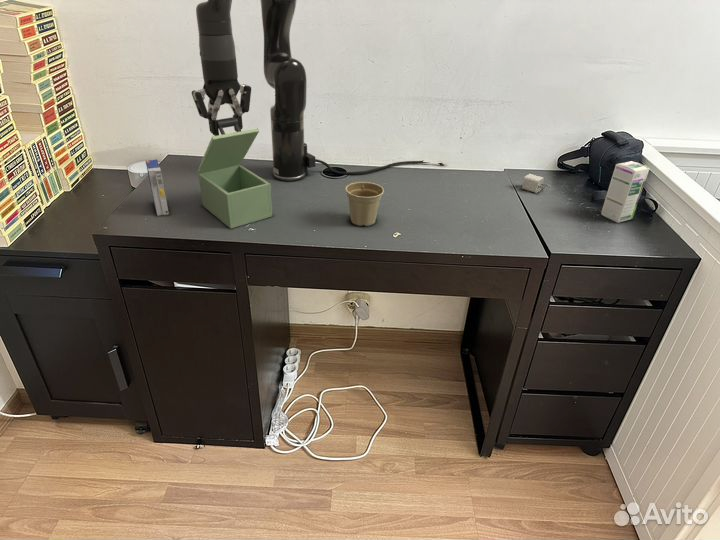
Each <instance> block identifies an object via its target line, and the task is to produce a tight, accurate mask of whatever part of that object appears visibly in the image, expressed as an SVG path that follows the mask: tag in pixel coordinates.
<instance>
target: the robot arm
mask: <svg viewBox="0 0 720 540" xmlns="http://www.w3.org/2000/svg"><path fill="white" fill-rule="evenodd" d="M232 5H233V0H207V1H202V2H200V3H198V4H197V5H196V7H195V15H196V23H197V31H198V49H199V57H200V63H201V70H202V71H201V72H202V79H203V82H204V83H203V86H202V88H201V89H198V90H192V91H191V96H192V99H193V101H194V104H195V106H196V111H197V113H198V115H199V117H201V118H203V119H205V120H207V121H208V126H209V127H208V128H209V132H210V133H211V134H212V136H218V135H220V130H219V129H218V121H217V120H218V119H217V117H218V113H219V111H220V109H221V106H223V105H225V104H227V105H229V107H230V109H231V111H232V113H233V114H232V117H237V119H238V126H239V128H240V130H241V131H242V130H243V127H244V126H243V115H244V114H245V113H249V112H250V105H251V95H252V87H251V86H250V85H249V84H245V83H244V84H240V82H239V80H238V77H239V75H238V63H237V55H236V45H235V41H234V36H233V25H232V15H231V11H232ZM296 8H297V0H260V10H261V11H260V12H261V23H262V31H263V75H264V79H265V81H266V83H267V84H268V85H269V86H270V87H271V88H272V89H274V104H272V105H271V107H270V109H269V110H270V111H269V114H270V116H269V117H270V133H271V149H272V172H273V173H272V175H273V177H274V178H275V179H277V180H279V181H284V182H293V181H298V180H301V179H304V178H305V176H308V175H309V171H308V169H312V168H315V167H316V163H319V164H322V165H323V166H325V167H326V168H327V169H328V170H329V171H330V172H332V173H335V174H337V175H345V176H349V175H350V176H352V175H365V174H369V173H373V172H378V171H381V170H385V169H388V168H391V167H394V166H399V165H408V164H412V165H413V164H428V163H429V162H423V161H424V160H405V161H397V162H392V163H389V164H386V165H383V166H380V167H375V168H371V169H367V170H360V171H339V170H336V169H333V168H332V167H331V166H330V165H329V164H328V163H327V162H325V161H323V160H321V159H316V155H313V154H311V153H309V152H308V144H307V143H306V142H305V122H304V121H305V119H304V118H305V115H304V113H305V110H306V106H307V89H308V87H307V85H308V83H307V73H306V68H305V66H304V65H303V63H302V62H301V61H300V60H298V59H296V58H294V57H292V50H291V27H292V23H293V19H294V16H295V12H296ZM239 93H240V98H239V99H240V101H239V100H238V98H237V95H238V94H239ZM205 96H207V97H208V102H207V107H206V103H205V101H204V100H205V99H206V97H205ZM233 130H234V132H237V130H236V128H235V126H233ZM437 164H438V165H440V167H445V164H444V163H443V162H441V163H437Z"/></svg>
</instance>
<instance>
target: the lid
mask: <svg viewBox="0 0 720 540" xmlns="http://www.w3.org/2000/svg"><path fill="white" fill-rule="evenodd" d="M216 120H217V121H218V129H219V135H218V136H214V135H212V136H211V139H210V140H209V143H208V146H207V147H206V150H205V152H204V155H203V156H202V159H201V161H200V164H199V166H198V169H197V174H200V173H205V172H209V171H214V170H219V169H223V168H228V167H232V166H238V165H242V162H243V161H244V159H245V157H246V156H247V153H248V152H249V150H250V149H251V147H252V145H253V143H254V141H255V139H256V138H257V136H258V134H259V133H260V129H259V128H253V129H252V128H251V129H247V130H242V129H241V130H240V128H239V126H238V119H237V117H233V116H231V117H226V118H220V119H216ZM234 126H235V128H236V130H237V132H236V131H234V132H229V133H226V132H225V130H224V129H225V128H226V129H227V128H231V127H234Z"/></svg>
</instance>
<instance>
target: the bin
mask: <svg viewBox="0 0 720 540" xmlns="http://www.w3.org/2000/svg"><path fill="white" fill-rule="evenodd" d="M197 174H198V182H199V188H200V196H201V204H202V207H204V208H205V209H206V210H207V211H209V212H210V213H211V214H212V215H214V216H215V218H217V219H218V220H219V221H220V222H222V223H223V224H224V225H226V227H228V228H229V229H233V228H234V229H235V228H238V227H241V226H244V225H248V224H251V223H255V222H258V221H261V220H265V219H268V218H272V217H273V201H272V184H271V183H270V182H268V181H267V180H265V179H264V178H262V177H260V176H259V175H257V174H255V173H254V172H252V171H251V170H249V169H247V168H246V167H244V166H243V165H242V164H239V165H235V166H230V167H225V168H221V169H216V170H212V171H207V172H203V173H197Z"/></svg>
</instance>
